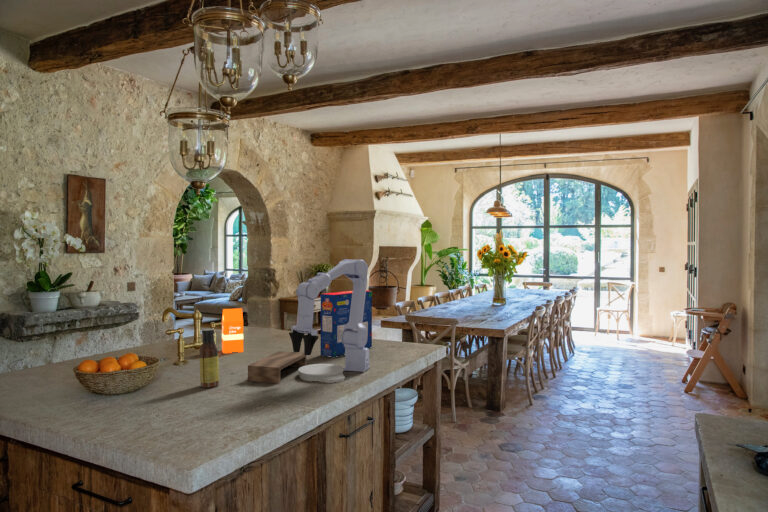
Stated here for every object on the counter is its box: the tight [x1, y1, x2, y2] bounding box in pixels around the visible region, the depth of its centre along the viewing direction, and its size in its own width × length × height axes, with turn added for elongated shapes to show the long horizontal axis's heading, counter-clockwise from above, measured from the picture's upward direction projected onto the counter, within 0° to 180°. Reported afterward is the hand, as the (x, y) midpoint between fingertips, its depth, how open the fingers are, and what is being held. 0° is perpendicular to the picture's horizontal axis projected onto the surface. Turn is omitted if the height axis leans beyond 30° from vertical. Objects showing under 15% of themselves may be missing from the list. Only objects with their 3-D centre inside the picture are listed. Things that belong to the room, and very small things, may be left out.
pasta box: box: [320, 289, 373, 358], centre depth 234 cm, size 28×8×28 cm, turn 145°
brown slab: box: [247, 350, 307, 384], centre depth 192 cm, size 12×26×6 cm, turn 167°
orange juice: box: [221, 307, 244, 354], centre depth 233 cm, size 8×9×20 cm
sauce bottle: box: [199, 328, 220, 389], centre depth 175 cm, size 6×6×20 cm
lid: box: [297, 363, 346, 384], centre depth 188 cm, size 17×20×3 cm
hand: (301, 353), depth 179 cm, fingers open, 7 cm apart
